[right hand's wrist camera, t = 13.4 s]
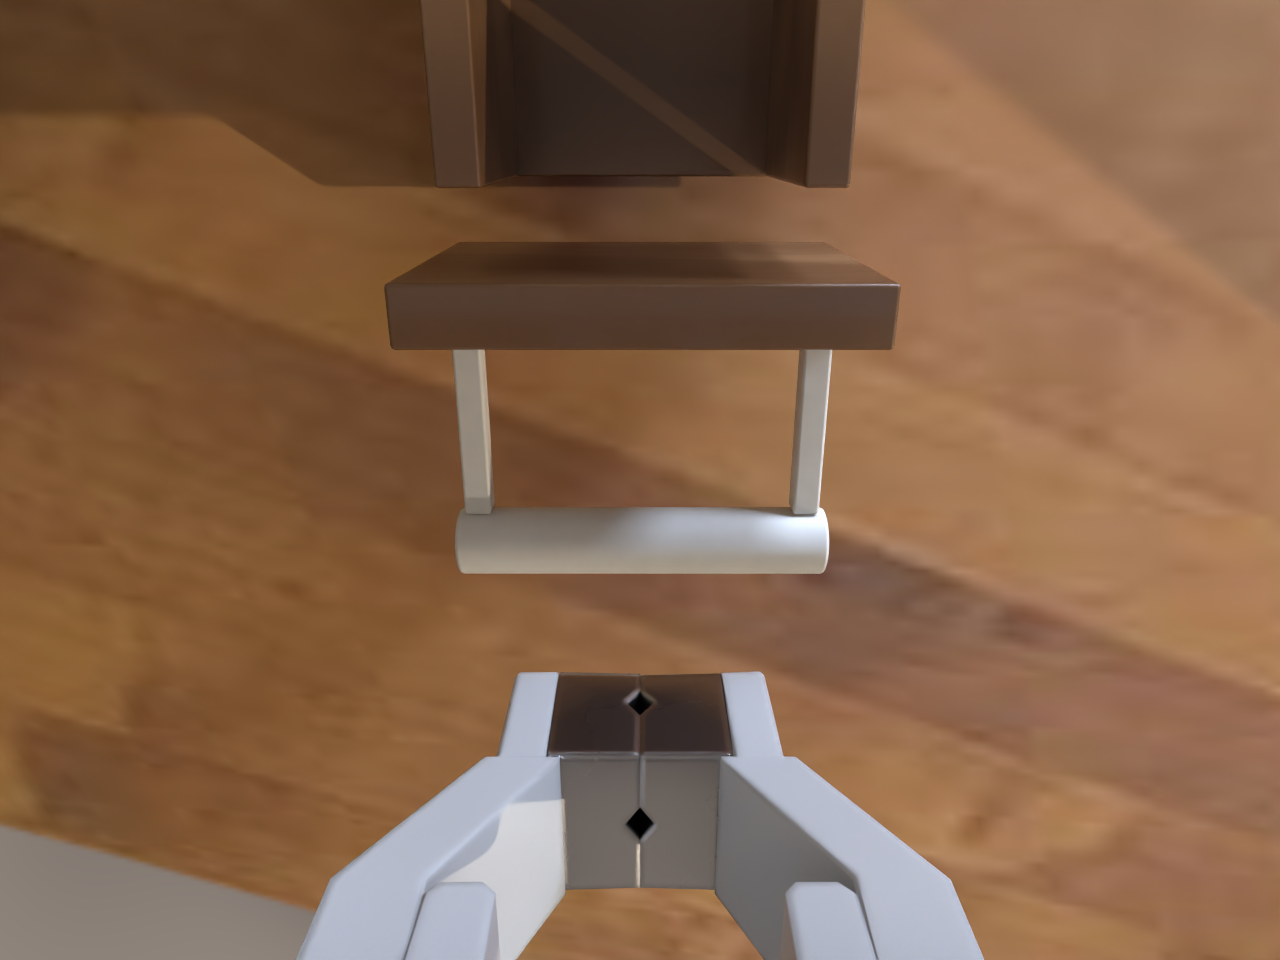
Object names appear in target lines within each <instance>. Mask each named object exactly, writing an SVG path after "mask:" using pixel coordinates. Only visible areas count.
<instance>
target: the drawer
mask: <svg viewBox="0 0 1280 960" xmlns="http://www.w3.org/2000/svg"><path fill="white" fill-rule="evenodd" d="M865 1H866V0H420V9H421V21H422V33H423V45H424V57H425V69H426V81H427V93H428V105H429V117H430V130H431V142H432V154H433V166H434V178H435V185H436V187H438V188H479V187H483V186H486V185H489V184H493V183H496V182H499V181H503V180H506V179H509V178H513V177H516V176H769V177H772V178H776V179H779V180H782V181H786V182H789V183H793V184H796V185H800V186H803V187H806V188H846V187H849V184H850V178H851V166H852V154H853V142H854V131H855V119H856V107H857V95H858V83H859V72H860V60H861V48H862V36H863V25H864V13H865ZM384 290H385V299H386V308H387V318H388V327H389V336H390V345H391V347H392V349H395V350H452V355H453V367H454V379H455V391H456V404H457V416H458V428H459V441H460V453H461V465H462V478H463V490H464V502H465V507H464V508H462V509H461V510H460V512H459V515H458V518H457V522H456V530H455V554H456V561H457V565H458V568H459V570H460V572H462V573H464V574H820V573H822V572H824V570H825V568H826V565H827V561H828V554H829V531H828V523H827V518H826V515H825V512H824V510H823V509H822V508H819V501H820V489H821V477H822V465H823V453H824V441H825V429H826V417H827V405H828V393H829V381H830V369H831V357H832V350H890V349H893V347H894V345H895V336H896V326H897V317H898V308H899V299H900V290H901V287H900V284H898V283H896V282H894V281H893V280H891V279H889V278H887V277H886V276H884V275H882V274H880V273H878V272H877V271H875V270H873V269H871V268H869V267H868V266H866V265H864V264H862V263H861V262H859V261H857V260H855V259H853V258H852V257H850V256H848V255H846V254H844V253H843V252H841V251H839V250H837V249H836V248H834V247H832V246H830V245H828V244H827V243H824V242H459V243H457V244H455V245H454V246H452V247H450V248H448V249H447V250H445V251H443V252H441V253H440V254H438V255H436V256H434V257H433V258H431V259H429V260H427V261H426V262H424V263H422V264H420V265H418V266H417V267H415V268H413V269H411V270H410V271H408V272H406V273H404V274H403V275H401V276H399V277H397V278H396V279H394V280H392V281H390V282H389V283H387V284H385V287H384ZM485 350H800V351H799V365H798V380H797V394H796V409H795V423H794V438H793V452H792V467H791V481H790V495H789V504H790V507H494V504H495V496H494V481H493V466H492V451H491V436H490V421H489V407H488V392H487V377H486V362H485Z"/></svg>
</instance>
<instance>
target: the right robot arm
mask: <svg viewBox="0 0 1280 960" xmlns="http://www.w3.org/2000/svg"><path fill="white" fill-rule="evenodd" d="M639 887H640V888H674V889H710V890H715V894H716V896H717V897H718V898H719V900H720V901H721V902H722V904H723V905H724V906H725V908H726V909H727V910H728V912H729V913H730V914H731V916H732V917H733V918H734V920H735V921H736V922H737V924H738V925H739V926H740V928H741V929H742V930H743V932H744V933H745V934H746V936H747V937H748V938H749V940H750V941H751V942H752V944H753V945H754V946H755V948H756V949H757V950H758V952H759V953H760V955H761V956H762V957H763V959H764V960H984V958H983V956H982V953H981V951H980V949H979V946H978V944H977V941H976V939H975V937H974V934H973V932H972V930H971V927H970V925H969V922H968V920H967V918H966V915H965V913H964V911H963V908H962V906H961V903H960V901H959V899H958V896H957V894H956V891H955V889H954V887H953V884H952V882H951V880H950V879H949V878H948V877H947V876H945V875H944V874H943V873H941V872H940V871H939V870H938V869H936V868H935V867H934V866H933V865H931V864H930V863H929V862H928V861H926V860H925V859H924V858H923V857H921V856H920V855H919V854H917V853H916V852H915V851H914V850H912V849H911V848H910V847H909V846H907V845H906V844H905V843H904V842H902V841H901V840H900V839H899V838H897V837H896V836H895V835H894V834H892V833H891V832H890V831H888V830H887V829H886V828H885V827H883V826H882V825H881V824H880V823H878V822H877V821H876V820H875V819H873V818H872V817H871V816H870V815H868V814H867V813H866V812H864V811H863V810H862V809H861V808H859V807H858V806H857V805H856V804H854V803H853V802H852V801H851V800H849V799H848V798H847V797H846V796H844V795H843V794H842V793H840V792H839V791H838V790H837V789H835V788H834V787H833V786H832V785H830V784H829V783H828V782H827V781H825V780H824V779H823V778H822V777H820V776H819V775H818V774H816V773H815V772H814V771H813V770H811V769H810V768H809V767H808V766H806V765H805V764H804V763H803V762H801V761H800V760H799V759H798V758H796V757H783V753H782V748H781V744H780V740H779V736H778V732H777V727H776V723H775V719H774V715H773V711H772V706H771V702H770V698H769V694H768V690H767V686H766V681H765V677H764V675H763V674H762V673H761V672H733V673H720V674H673V675H640V674H618V673H569V672H561V673H560V674H559V673H558V672H519V674H518V675H517V676H516V678H515V680H514V685H513V689H512V693H511V697H510V702H509V706H508V710H507V714H506V719H505V723H504V727H503V731H502V736H501V740H500V744H499V748H498V753H497V757H484V758H483V759H481V760H480V761H479V762H477V763H476V764H475V765H474V766H472V767H471V768H470V769H469V770H467V771H466V772H465V773H463V774H462V775H461V776H460V777H458V778H457V779H456V780H455V781H453V782H452V783H451V784H450V785H448V786H447V787H446V788H444V789H443V790H442V791H441V792H439V793H438V794H437V795H436V796H434V797H433V798H432V799H431V800H429V801H428V802H427V803H425V804H424V805H423V806H422V807H420V808H419V809H418V810H417V811H415V812H414V813H413V814H411V815H410V816H409V817H408V818H406V819H405V820H404V821H403V822H401V823H400V824H399V825H398V826H396V827H395V828H394V829H392V830H391V831H390V832H389V833H387V834H386V835H385V836H384V837H382V838H381V839H380V840H378V841H377V842H376V843H375V844H373V845H372V846H371V847H370V848H368V849H367V850H366V851H365V852H363V853H362V854H361V855H359V856H358V857H357V858H356V859H354V860H353V861H352V862H351V863H349V864H348V865H347V866H346V867H344V868H343V869H342V870H340V871H339V872H338V873H337V874H335V875H334V876H333V877H332V878H330V881H329V883H328V885H327V888H326V890H325V892H324V895H323V897H322V899H321V902H320V904H319V906H318V909H317V911H316V914H315V916H314V918H313V921H312V923H311V925H310V928H309V930H308V932H307V935H306V937H305V939H304V942H303V944H302V946H301V949H300V951H299V953H298V956H297V958H296V960H516V959H517V958H518V956H519V955H520V954H521V952H522V951H523V950H524V948H525V947H526V946H527V944H528V943H529V942H530V940H531V939H532V938H533V936H534V935H535V934H536V932H537V931H538V930H539V928H540V927H541V926H542V924H543V923H544V922H545V920H546V919H547V918H548V916H549V915H550V914H551V912H552V911H553V910H554V908H555V907H556V906H557V904H558V903H559V902H560V900H561V899H562V898H563V896H564V895H565V890H570V889H604V888H639Z"/></svg>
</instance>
